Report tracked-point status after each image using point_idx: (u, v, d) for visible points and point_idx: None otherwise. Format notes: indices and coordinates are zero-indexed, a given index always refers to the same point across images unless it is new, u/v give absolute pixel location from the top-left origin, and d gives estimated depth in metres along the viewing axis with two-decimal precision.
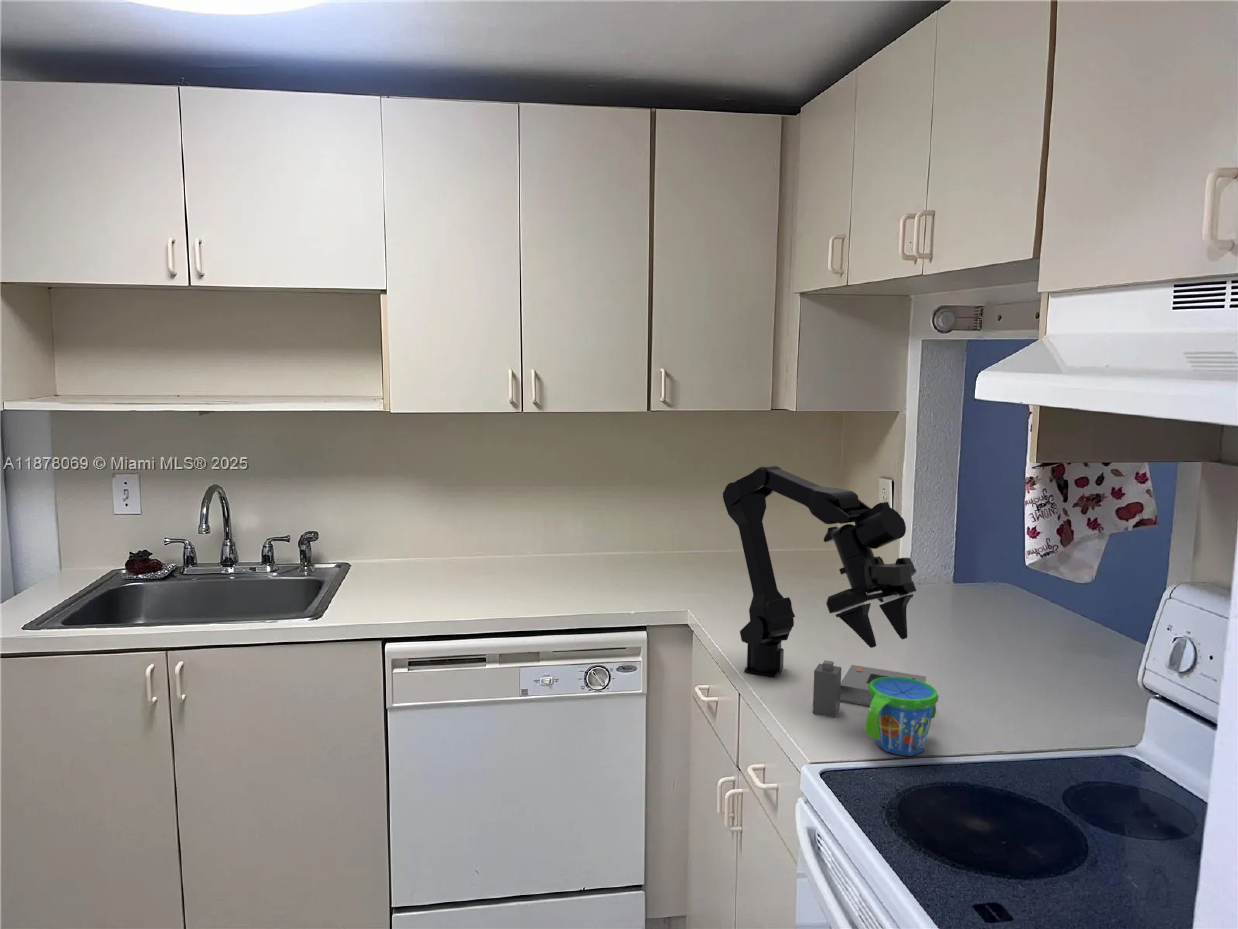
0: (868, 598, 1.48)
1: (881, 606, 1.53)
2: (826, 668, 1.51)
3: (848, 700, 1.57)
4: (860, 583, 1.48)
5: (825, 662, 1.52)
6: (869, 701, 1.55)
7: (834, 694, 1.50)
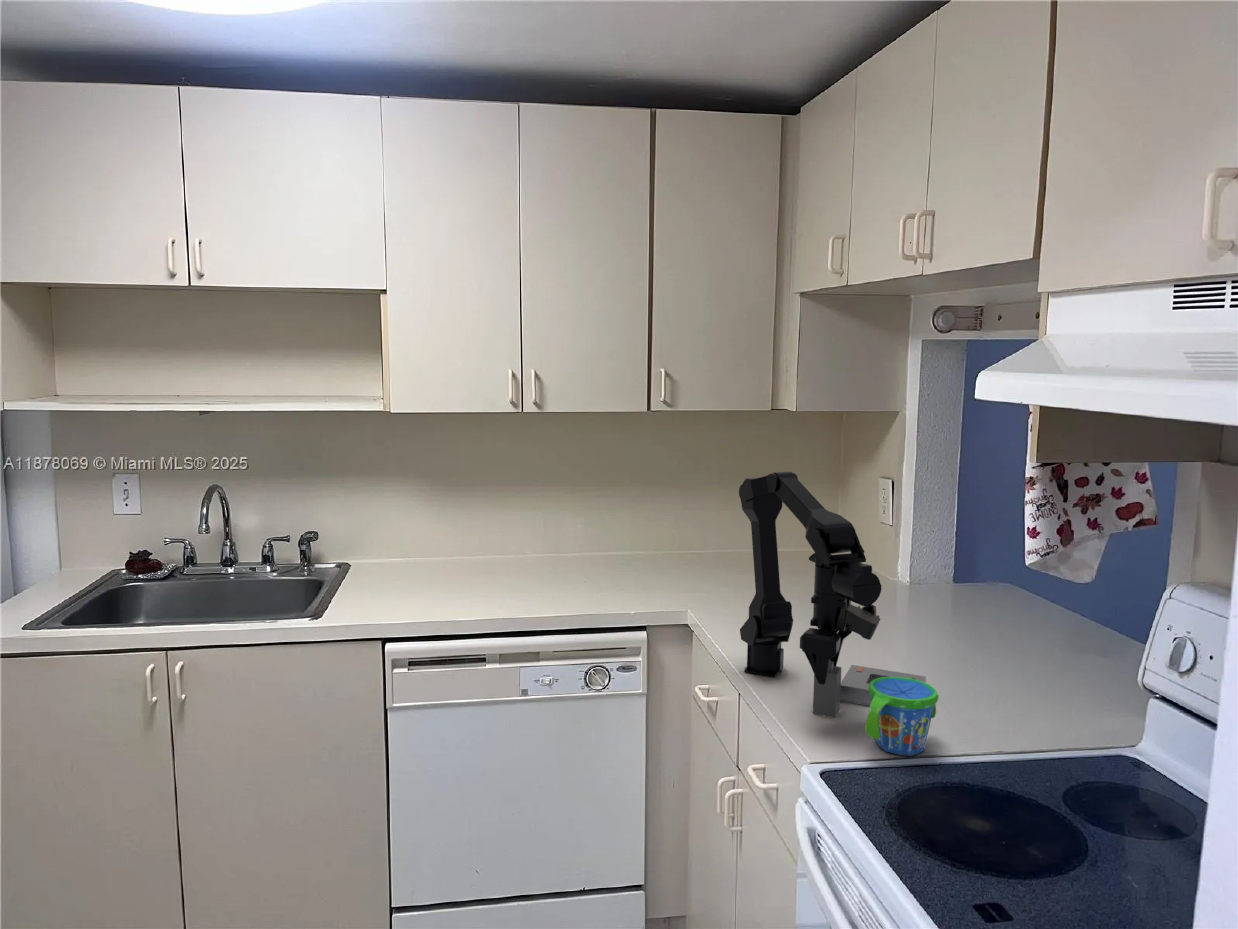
0: None
1: None
2: None
3: (848, 700, 1.57)
4: (830, 621, 1.48)
5: None
6: (869, 701, 1.55)
7: (834, 694, 1.50)
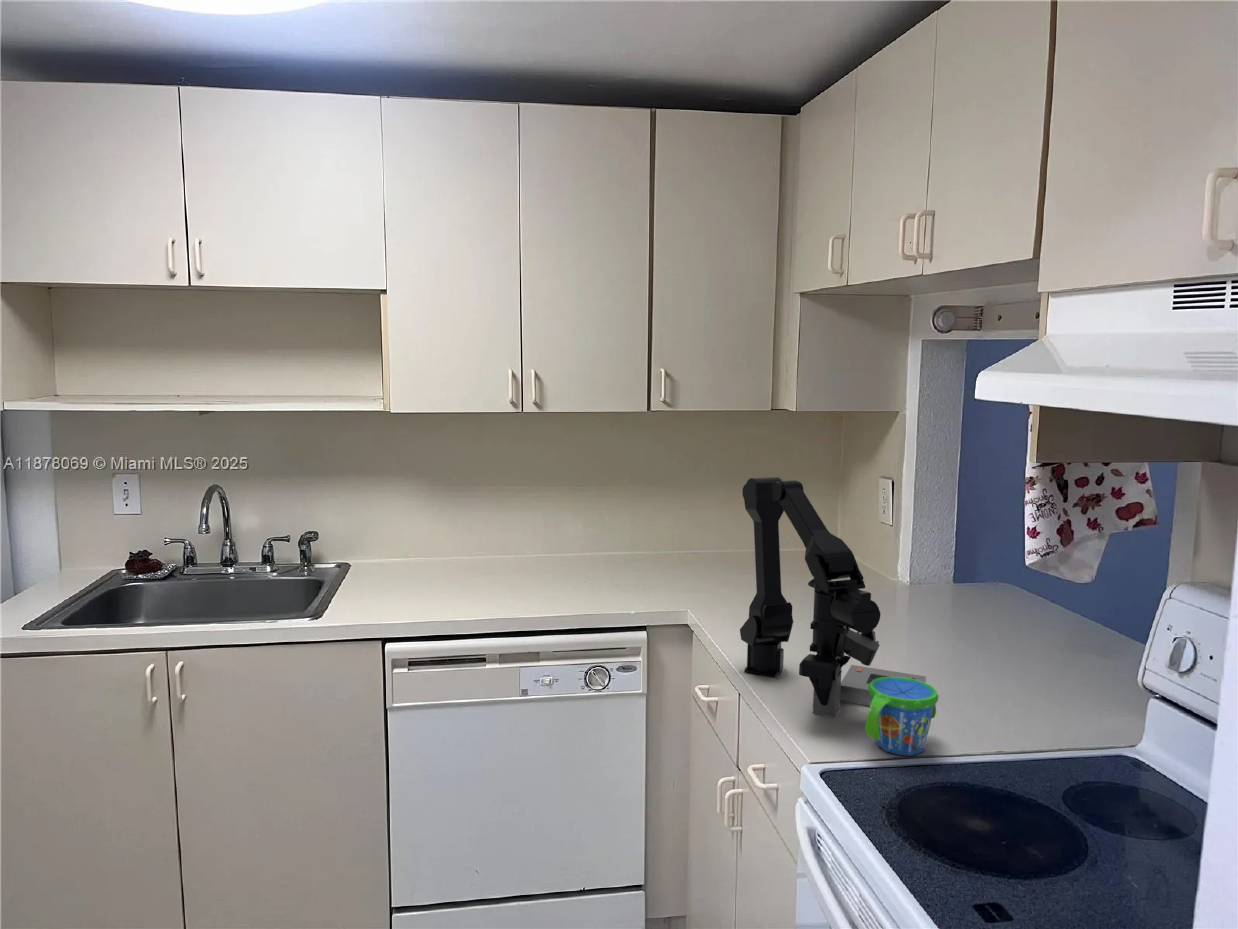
0: None
1: None
2: None
3: (848, 700, 1.57)
4: (829, 647, 1.49)
5: None
6: (869, 701, 1.55)
7: (834, 694, 1.50)
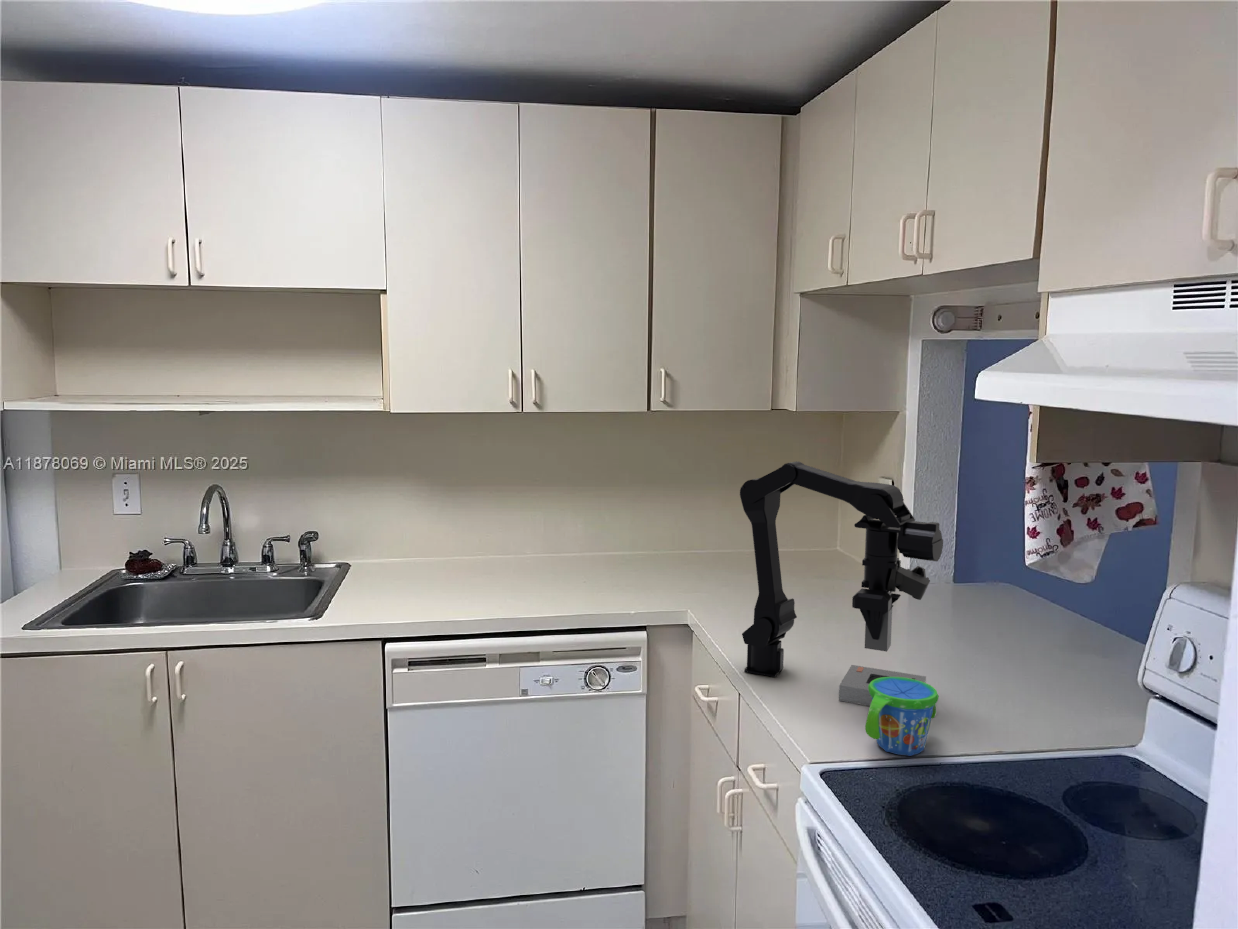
0: None
1: None
2: None
3: (848, 700, 1.57)
4: (881, 582, 1.53)
5: None
6: (869, 701, 1.55)
7: (886, 628, 1.55)
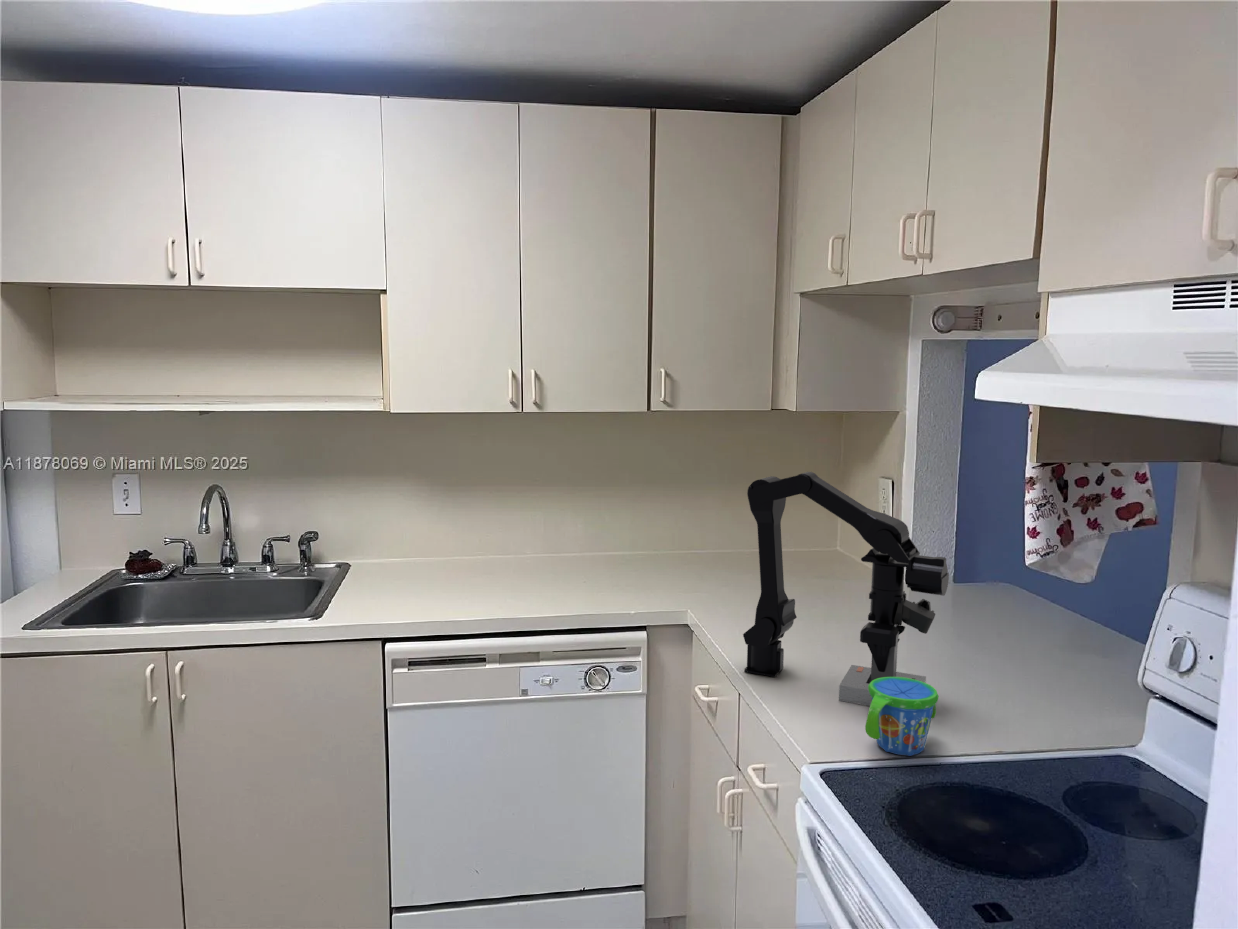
0: None
1: None
2: None
3: (848, 700, 1.57)
4: (887, 616, 1.55)
5: None
6: (869, 701, 1.55)
7: (892, 661, 1.57)
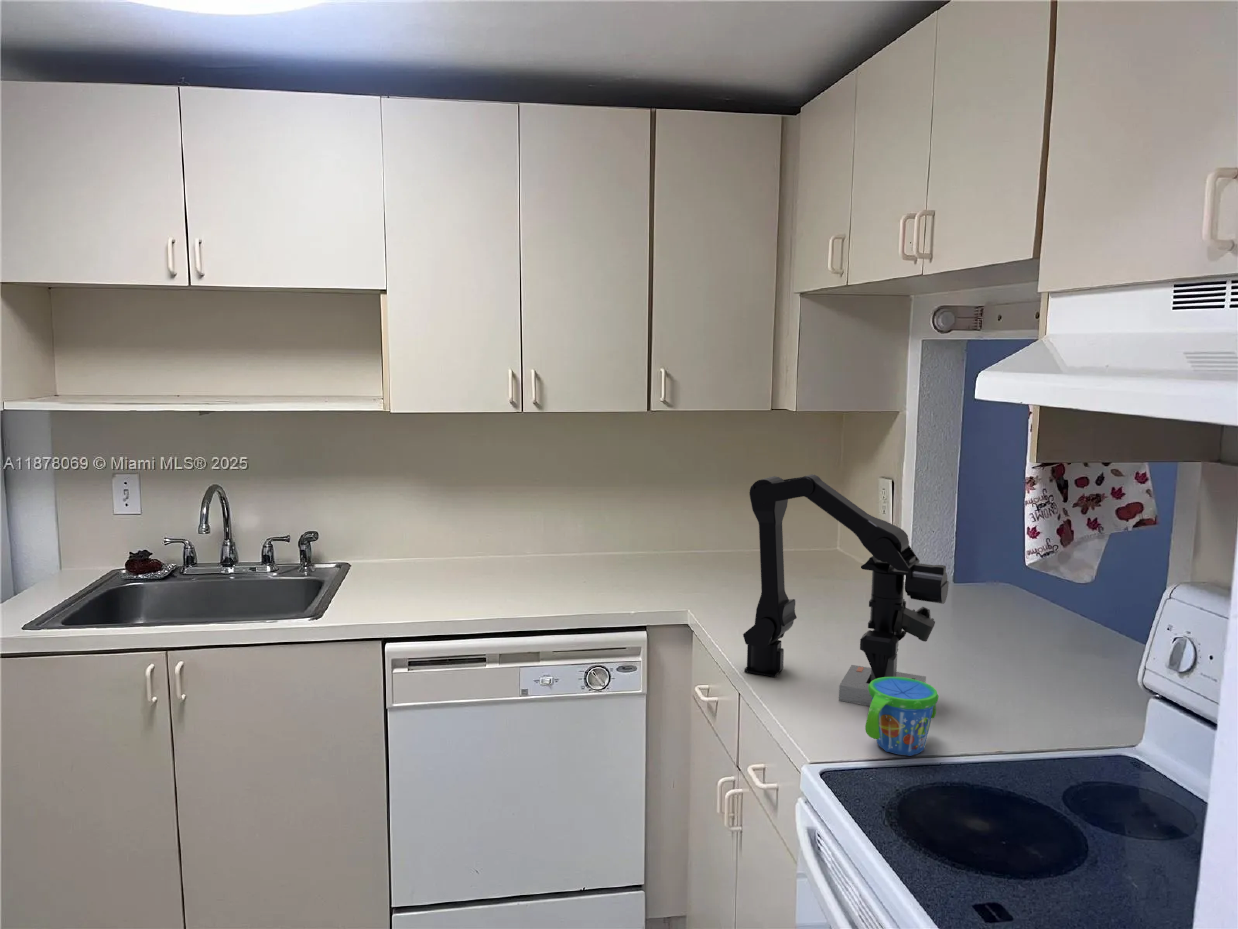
0: None
1: None
2: None
3: (848, 700, 1.57)
4: (887, 624, 1.56)
5: None
6: (869, 701, 1.55)
7: None
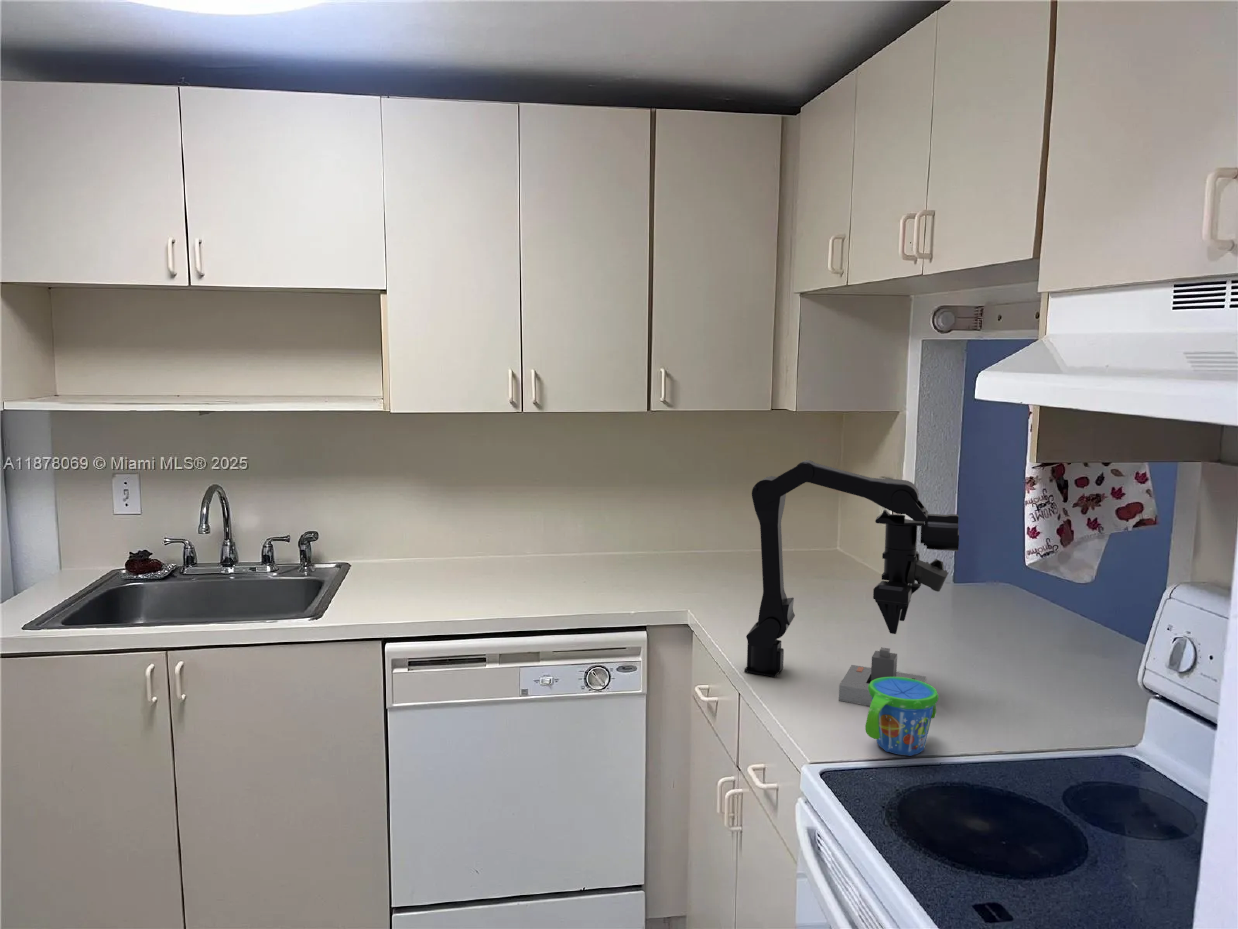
0: None
1: None
2: (883, 655, 1.58)
3: (848, 700, 1.57)
4: (900, 575, 1.59)
5: (882, 649, 1.59)
6: (869, 701, 1.55)
7: None
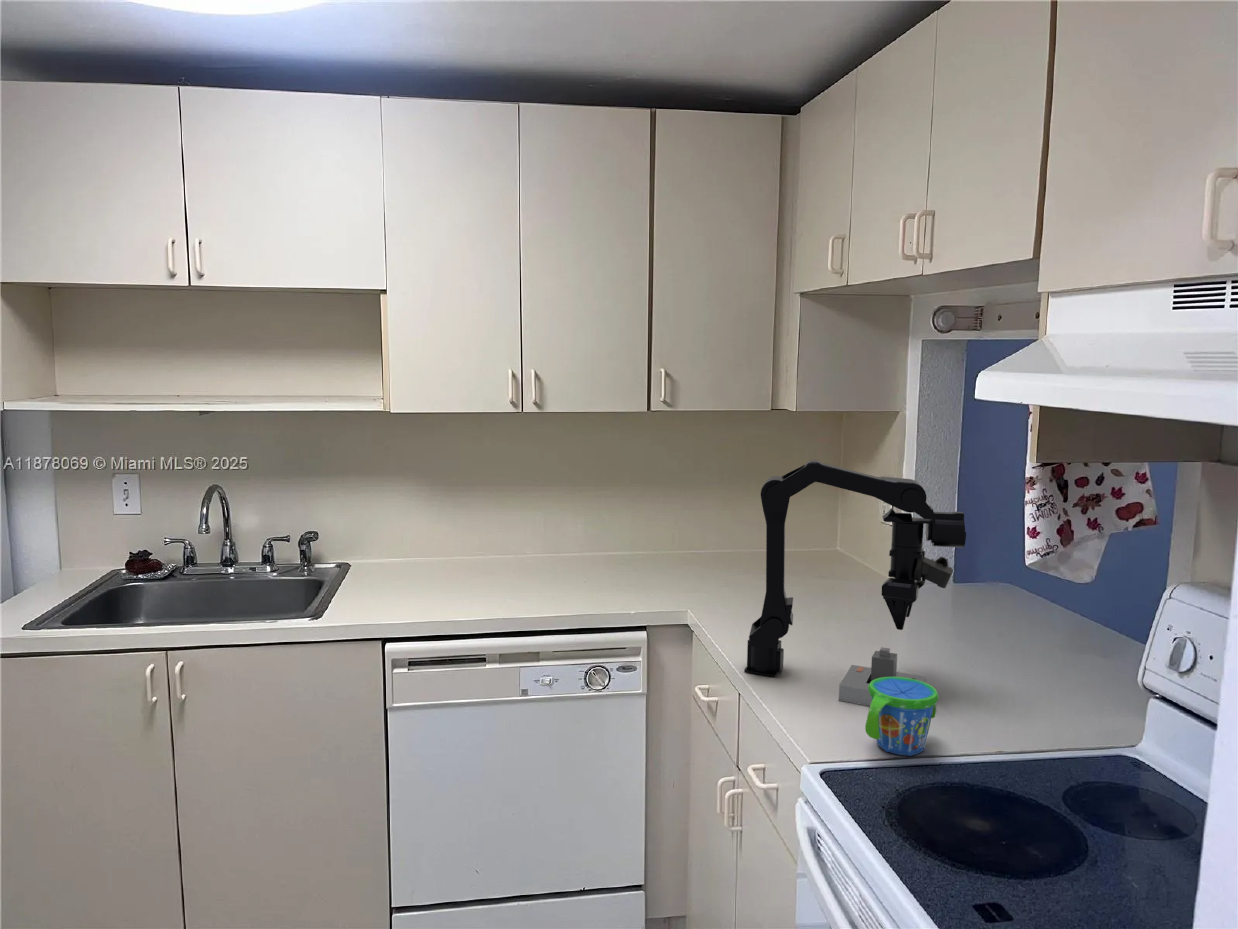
0: None
1: None
2: (883, 655, 1.58)
3: (848, 700, 1.57)
4: (907, 572, 1.62)
5: (882, 649, 1.59)
6: (869, 701, 1.55)
7: None
